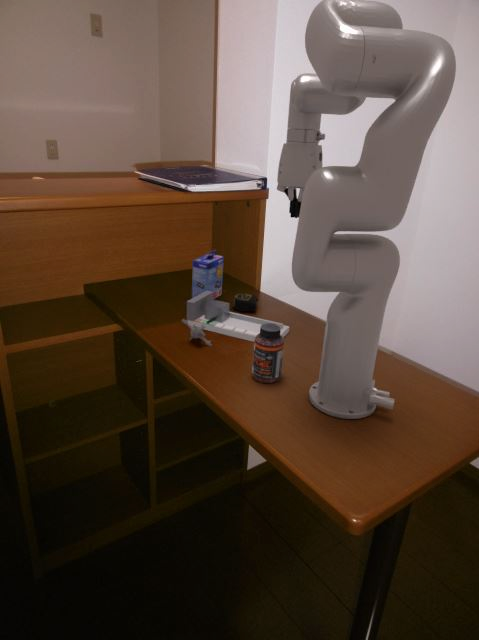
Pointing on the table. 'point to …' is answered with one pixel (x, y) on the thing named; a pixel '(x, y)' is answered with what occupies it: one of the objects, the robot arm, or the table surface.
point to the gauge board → (227, 320)
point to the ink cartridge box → (207, 274)
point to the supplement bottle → (268, 354)
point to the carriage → (216, 311)
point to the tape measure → (245, 302)
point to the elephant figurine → (197, 332)
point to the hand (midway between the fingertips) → (295, 216)
